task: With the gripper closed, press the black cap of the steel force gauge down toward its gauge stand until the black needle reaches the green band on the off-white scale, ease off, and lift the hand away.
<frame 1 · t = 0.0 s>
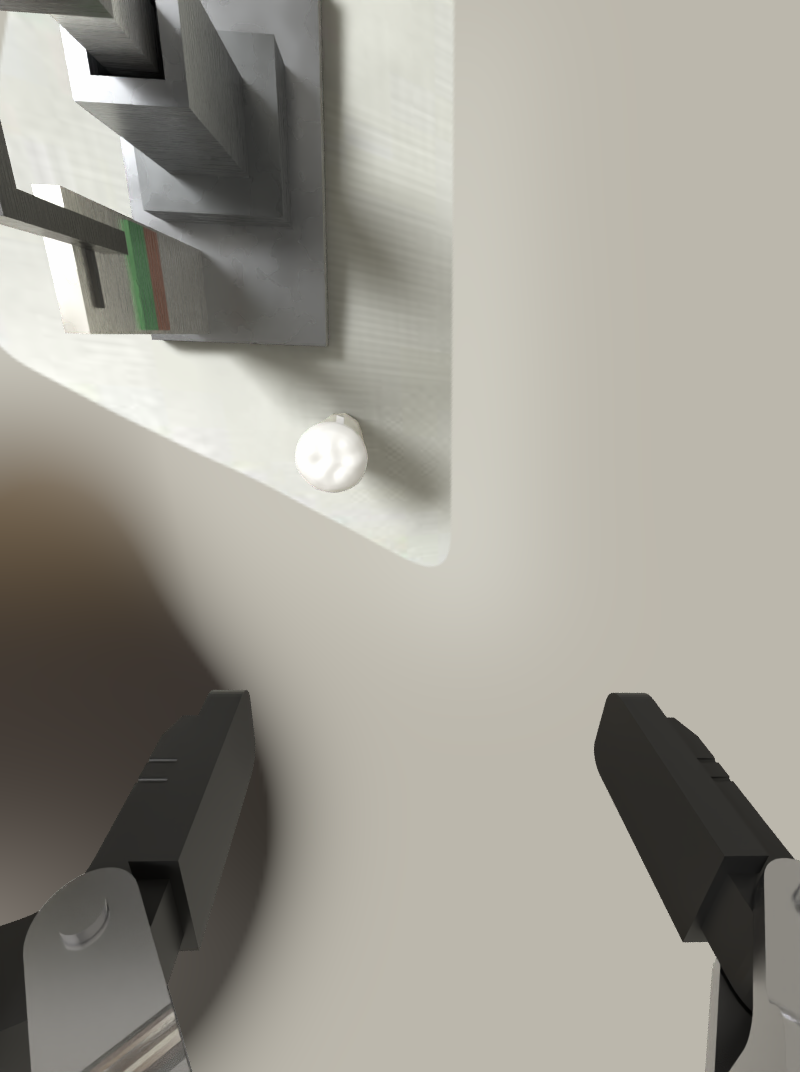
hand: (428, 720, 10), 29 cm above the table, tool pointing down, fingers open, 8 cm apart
milkshake: (343, 428, 37), on the table
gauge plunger: (83, 61, 15), point 17 cm above the table, slide at 0.0 cm
gauge stand: (229, 155, 30), on the table
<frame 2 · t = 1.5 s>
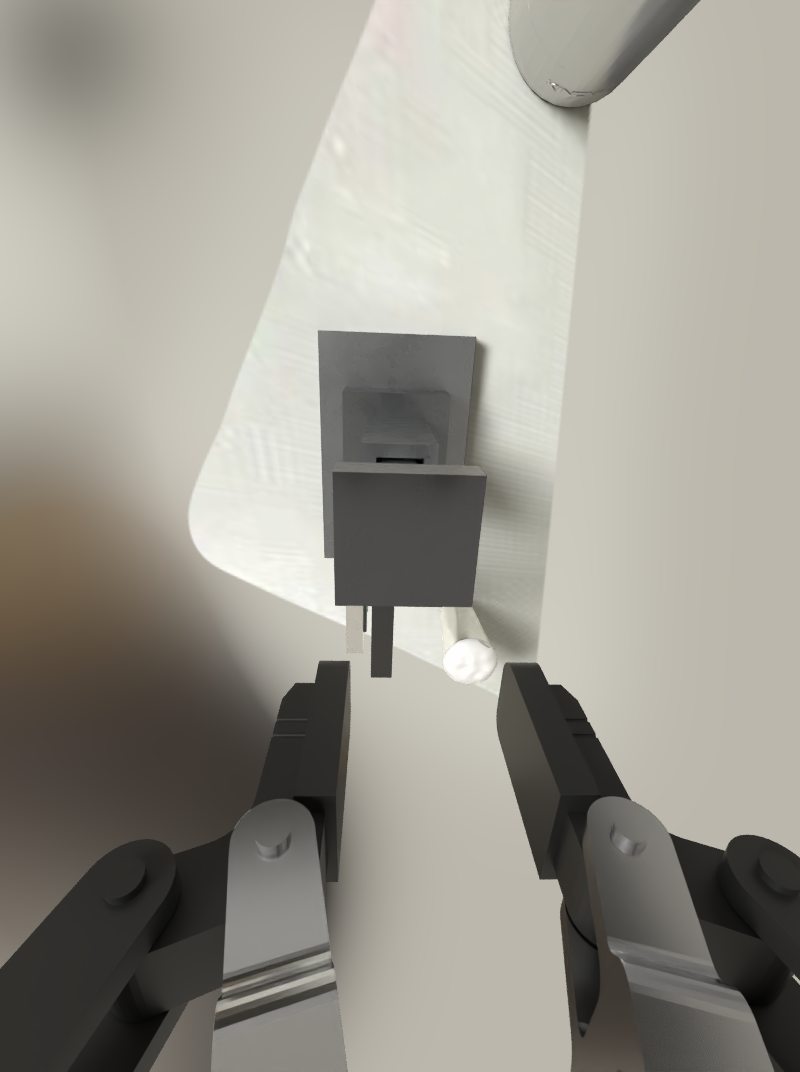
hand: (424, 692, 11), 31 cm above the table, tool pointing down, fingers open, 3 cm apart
milkshake: (457, 606, 47), on the table
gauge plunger: (399, 538, 25), point 17 cm above the table, slide at 0.0 cm
gauge stand: (393, 435, 40), on the table
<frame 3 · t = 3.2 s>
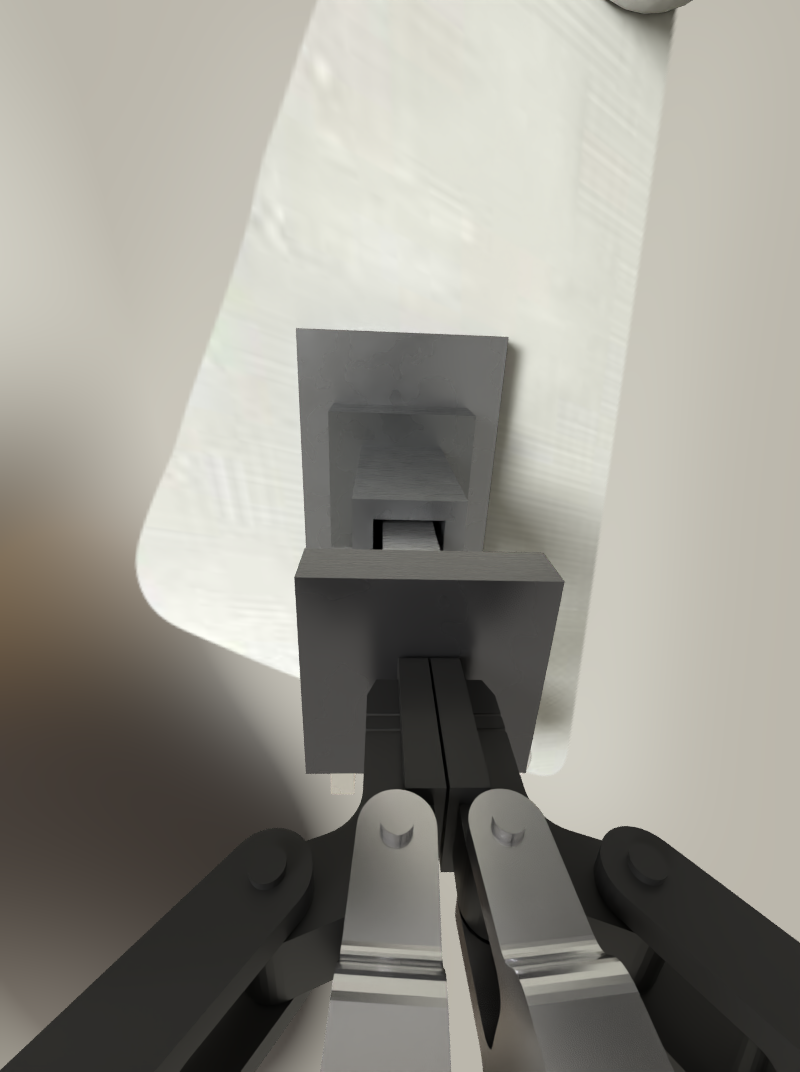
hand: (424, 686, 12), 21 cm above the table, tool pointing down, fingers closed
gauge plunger: (407, 627, 18), point 15 cm above the table, slide at 1.4 cm, touching gripper
gauge stand: (397, 464, 31), on the table
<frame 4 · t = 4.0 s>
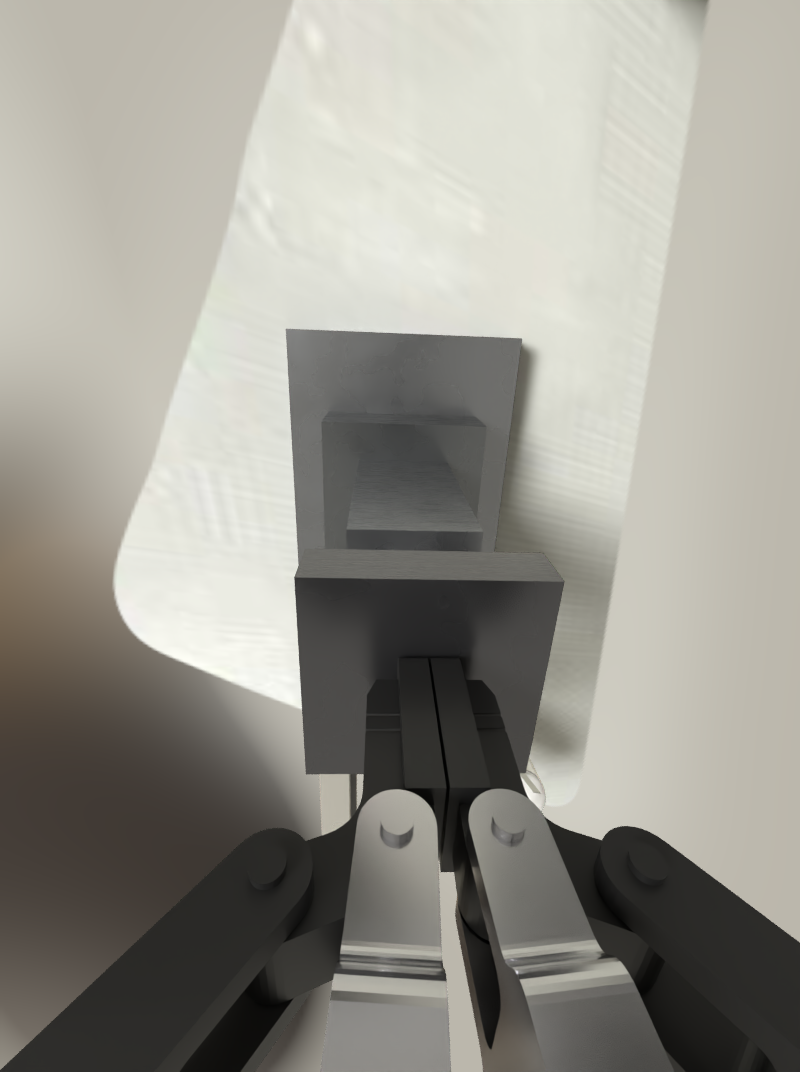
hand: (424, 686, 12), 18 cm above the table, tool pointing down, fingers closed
milkshake: (482, 695, 35), on the table
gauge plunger: (407, 628, 18), point 12 cm above the table, slide at 4.3 cm, touching gripper
gauge stand: (398, 477, 28), on the table
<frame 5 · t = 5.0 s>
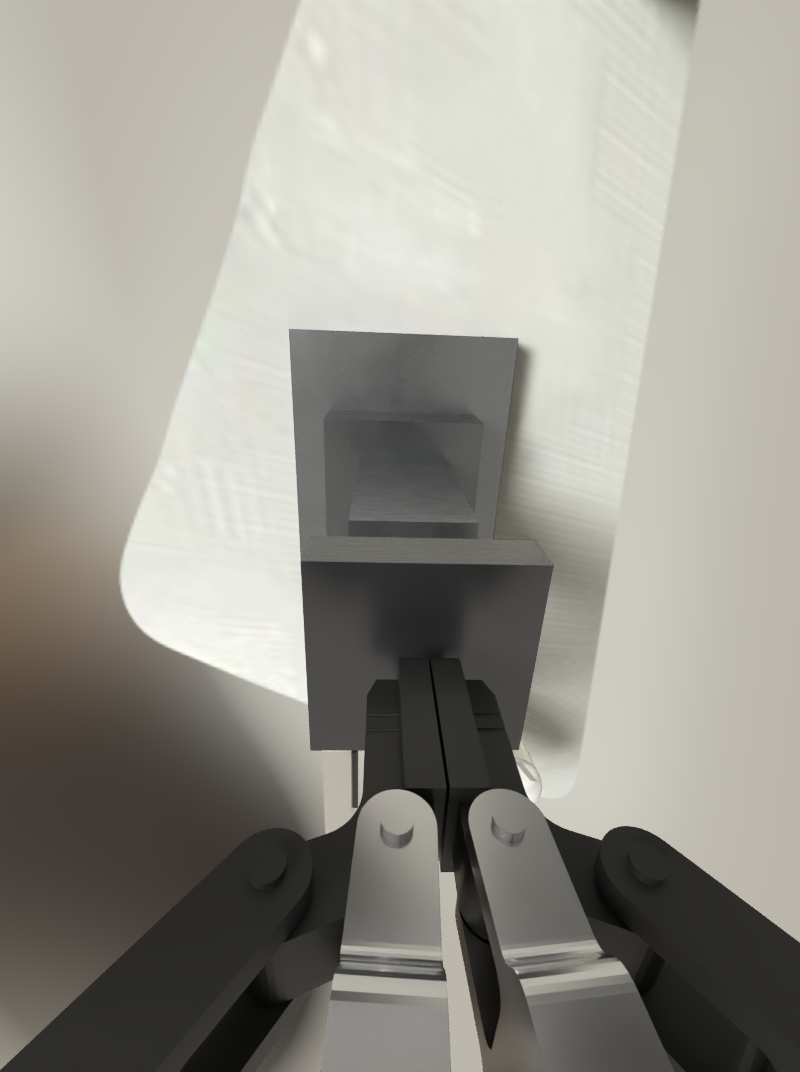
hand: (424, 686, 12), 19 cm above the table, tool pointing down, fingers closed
milkshake: (480, 688, 36), on the table
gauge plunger: (407, 616, 18), point 12 cm above the table, slide at 4.3 cm
gauge stand: (398, 474, 29), on the table
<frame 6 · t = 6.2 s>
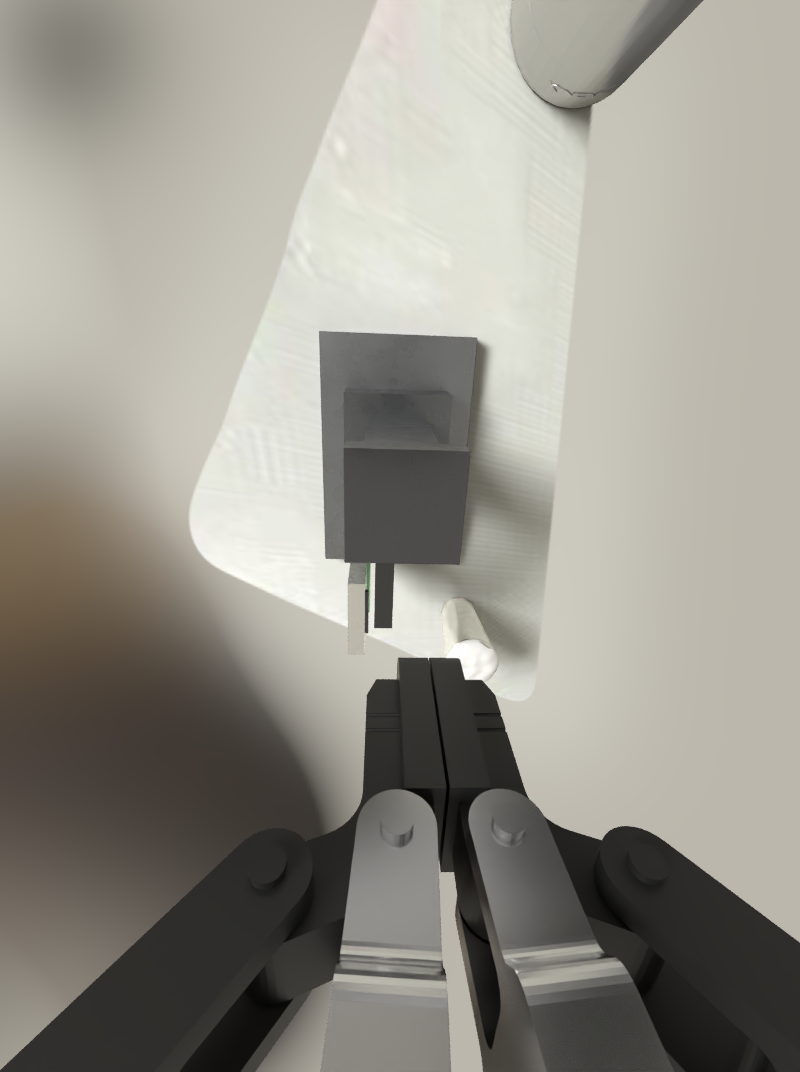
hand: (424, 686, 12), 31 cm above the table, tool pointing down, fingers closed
milkshake: (458, 606, 47), on the table
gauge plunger: (399, 511, 29), point 12 cm above the table, slide at 4.3 cm
gauge stand: (394, 436, 40), on the table
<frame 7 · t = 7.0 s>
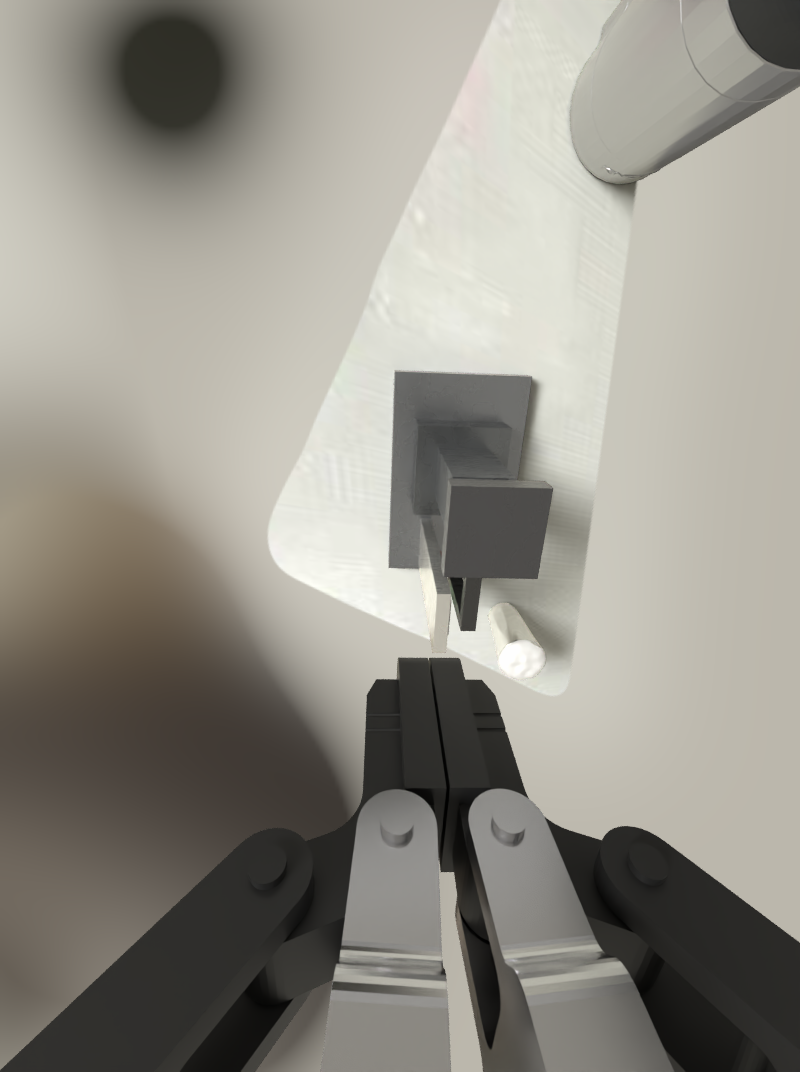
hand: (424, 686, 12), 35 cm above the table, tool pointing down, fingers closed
milkshake: (503, 610, 52), on the table
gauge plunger: (475, 531, 35), point 12 cm above the table, slide at 4.3 cm
gauge stand: (453, 460, 45), on the table
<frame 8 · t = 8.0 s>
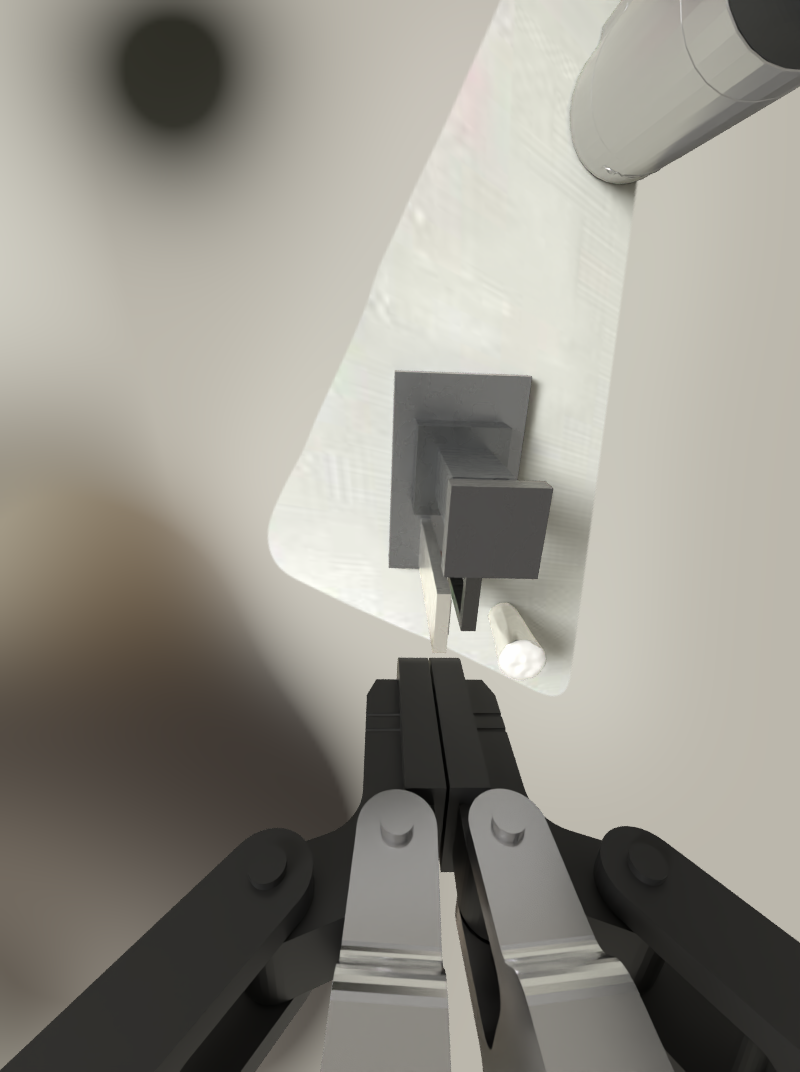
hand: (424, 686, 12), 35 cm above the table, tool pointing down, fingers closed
milkshake: (503, 610, 52), on the table
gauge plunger: (475, 531, 35), point 12 cm above the table, slide at 4.3 cm
gauge stand: (454, 460, 45), on the table
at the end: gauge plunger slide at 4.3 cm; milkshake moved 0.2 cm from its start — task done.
